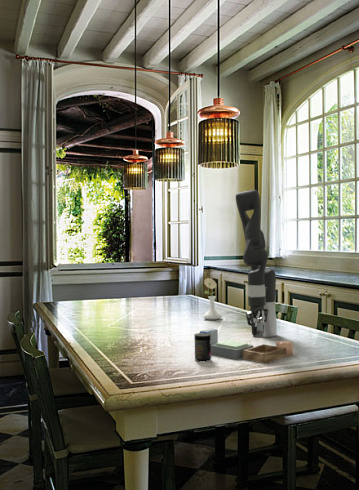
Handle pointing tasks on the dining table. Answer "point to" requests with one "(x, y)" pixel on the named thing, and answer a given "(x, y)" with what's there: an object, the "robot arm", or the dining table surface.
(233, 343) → the pale green panel
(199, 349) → the supplement container
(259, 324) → the cell
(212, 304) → the flower in vase
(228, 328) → the dining table surface
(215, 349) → the checker base
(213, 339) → the medicine box
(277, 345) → the peach dome knob
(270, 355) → the brown wooden tray
